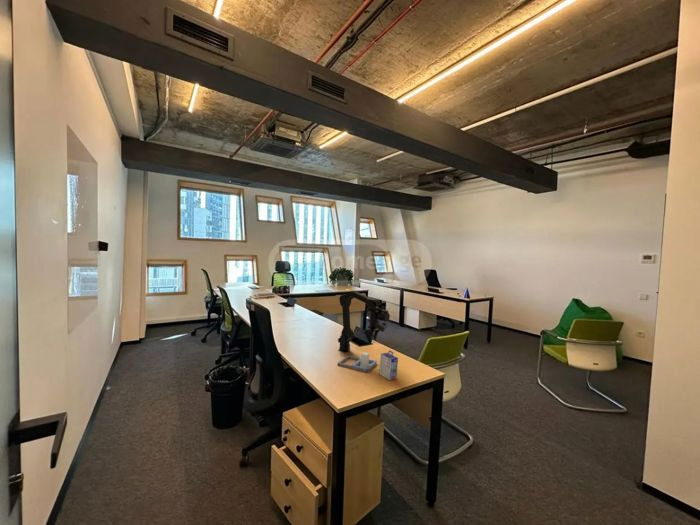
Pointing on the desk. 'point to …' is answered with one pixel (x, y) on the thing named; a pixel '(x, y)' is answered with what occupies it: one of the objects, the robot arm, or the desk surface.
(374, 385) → the desk surface
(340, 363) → the frame
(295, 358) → the desk surface
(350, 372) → the desk surface
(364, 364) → the cord plug
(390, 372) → the ink cartridge box
